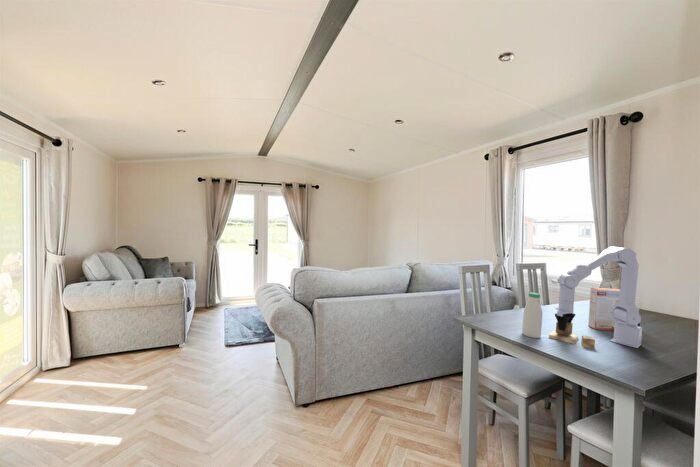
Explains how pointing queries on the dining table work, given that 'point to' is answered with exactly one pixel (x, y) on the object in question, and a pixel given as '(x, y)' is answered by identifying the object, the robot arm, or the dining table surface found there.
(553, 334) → the base board
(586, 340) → the oak cube
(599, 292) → the cracker box
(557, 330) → the walnut cube
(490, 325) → the dining table surface
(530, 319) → the milk bottle
